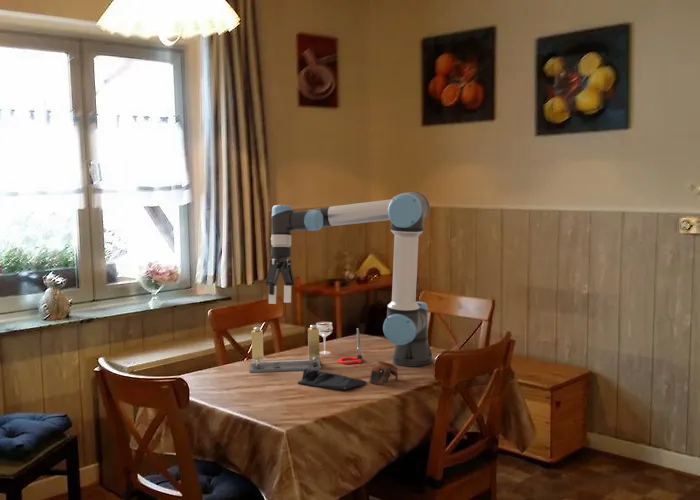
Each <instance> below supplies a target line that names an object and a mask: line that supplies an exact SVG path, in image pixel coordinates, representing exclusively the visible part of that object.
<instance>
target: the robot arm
mask: <svg viewBox="0 0 700 500" xmlns="http://www.w3.org/2000/svg"><path fill="white" fill-rule="evenodd" d="M430 211H431V207H430V202H429V200H428V198H427V197H426V195H424V194H423V193H421V192H419V191H410V192H409V191H408V192H402V193H399V194H397V195H395V196H393V197H392V198H391V199H382V200H376V201H366V202H365V201H364V202H358V203H351V204H343V205H333V206H326V207H323V206H322V207H316V208H312V209H307V210H306V209H303V210H293V208H292V206H291V205H289V204H288V205H287V204H277V205H276V204H275V205H273V206H272V209H271V216H270V217H271V237H270V242H271V243H270V244H271V247H270V257H273V258H270V260H269V268H268V272H267V276H266V280H265V286H268V304H269V305H271V304H273V305H276V304H277V281H278V279H279V276H280V273H281V276H282V280H283V282H284V285H283V303H290V304H291V303H292V286H294V285H295V280H294V275H293V269H292V259H288V258H291V256H292V247H291V246H292V232H293V231H304V232H305V231H310V232H313V231H320V230H322V228H327V227H329V228H330V227H334V226H344V225H345V226H346V225H355V224H364V223H373V222H383V221H390V232H391V233H392V234H393V235H394V236H393V260H392V261H393V264H392V265H393V266H392V284H391V287H392V288H391V289H392V290H391V301H390V302H389V303H388V304H387V308H386V309H387V310H386V318H385V319H384V321H383V325H382V331H383V334H384V337H385V338H386V339H387V340H388V341H389V342H390V343H392V344H394V345H395V346H394V347H395V348H394V350H393V353H392V363H393V364H395V365H399V366H403V367H421V366H422V367H423V366H427V365H430V364H432V363H433V354H432V350H431V348H430V345H429V339H428V334H429V333H428V312H429V309H428V304H427V303H426V302H424V301H417V299H416V298H417V282H418V281H417V280H418V278H417V277H418V258H419V257H418V255H419V239H420V238H419V237H420V235H421V234H422V233H423V232H424V225H425V223H424V221H425V220H426V218H427V217H428V215H430V214H429V213H430Z"/></svg>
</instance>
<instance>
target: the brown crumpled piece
mask: <svg viewBox="0 0 700 500" xmlns="http://www.w3.org/2000/svg"><path fill="white" fill-rule="evenodd" d="M370 372H371V373H370V375H369V381H368V382H370V383H372V384H375V385H377V386H379V385H380V382H381V383H382V384H385V383H386V384H387V383H388V382H389V379H390V376H391V374H392V375H393V376H394V377H395V379H394V381H395V380H396V381H397V380H398V376H399V375H398V367H396V365H393V364H391V363H388V362H387V361H384V360H378V361H377V363H375V364H374V365H373V367H372V369H371V371H370Z"/></svg>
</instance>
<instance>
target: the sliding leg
mask: <svg viewBox="0 0 700 500" xmlns="http://www.w3.org/2000/svg"><path fill="white" fill-rule="evenodd" d="M250 333H251V337H250V338H251V361H252V363H256V366H259V363H263V361H265V360H264V337H263V336H264V335H263V329H261V327H260V326H256V327H253V330H252V329H251V332H250Z"/></svg>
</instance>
